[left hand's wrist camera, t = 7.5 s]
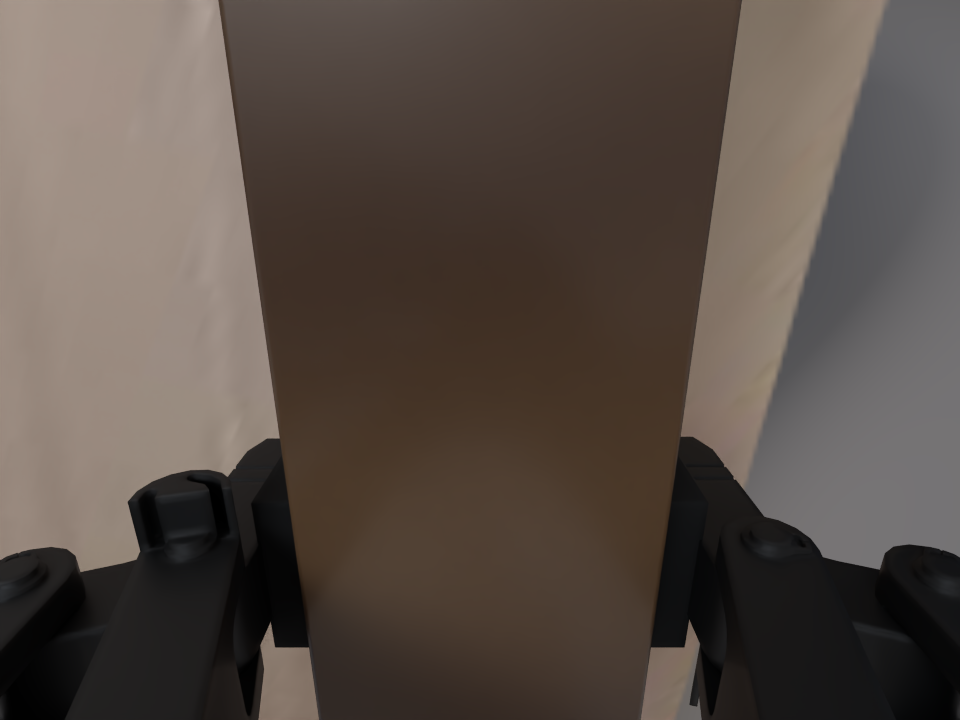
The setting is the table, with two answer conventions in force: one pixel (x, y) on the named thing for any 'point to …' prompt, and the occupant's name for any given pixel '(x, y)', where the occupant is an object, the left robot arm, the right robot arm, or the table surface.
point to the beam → (480, 331)
